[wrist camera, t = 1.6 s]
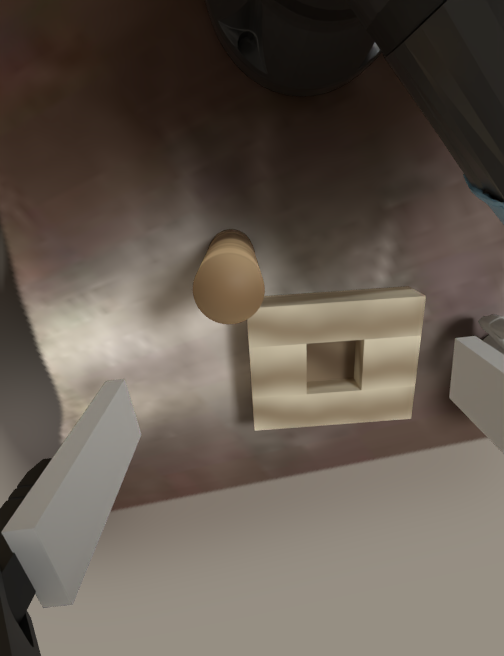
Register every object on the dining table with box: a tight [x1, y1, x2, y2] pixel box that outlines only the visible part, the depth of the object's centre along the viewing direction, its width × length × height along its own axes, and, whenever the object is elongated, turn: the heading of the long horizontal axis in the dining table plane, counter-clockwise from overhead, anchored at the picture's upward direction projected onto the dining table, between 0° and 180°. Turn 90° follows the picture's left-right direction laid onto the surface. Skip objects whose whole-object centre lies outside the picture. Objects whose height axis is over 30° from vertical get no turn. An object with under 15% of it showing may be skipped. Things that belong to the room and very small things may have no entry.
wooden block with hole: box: [247, 286, 426, 431], centre depth 35 cm, size 13×16×4 cm
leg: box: [193, 229, 265, 324], centre depth 26 cm, size 4×4×14 cm
